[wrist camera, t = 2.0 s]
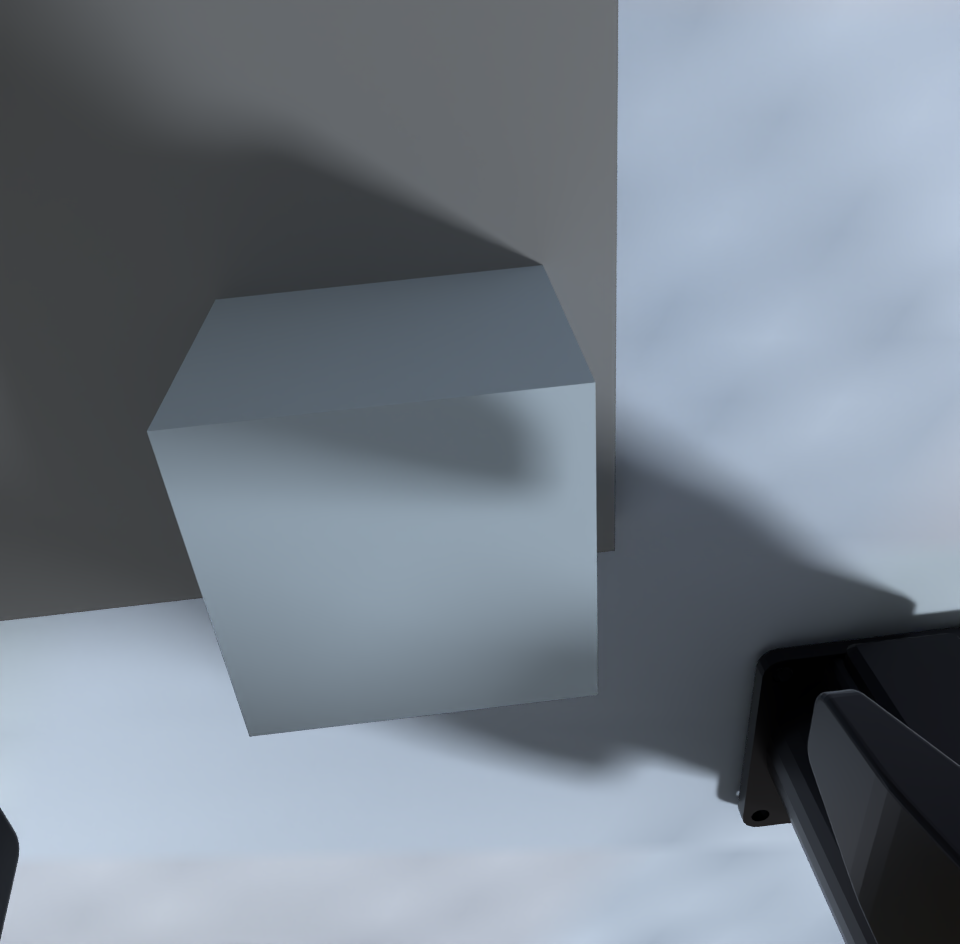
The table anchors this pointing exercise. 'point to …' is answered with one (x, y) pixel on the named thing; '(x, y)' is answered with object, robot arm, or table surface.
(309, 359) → the block
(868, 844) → the robot arm
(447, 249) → the board
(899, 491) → the table surface
